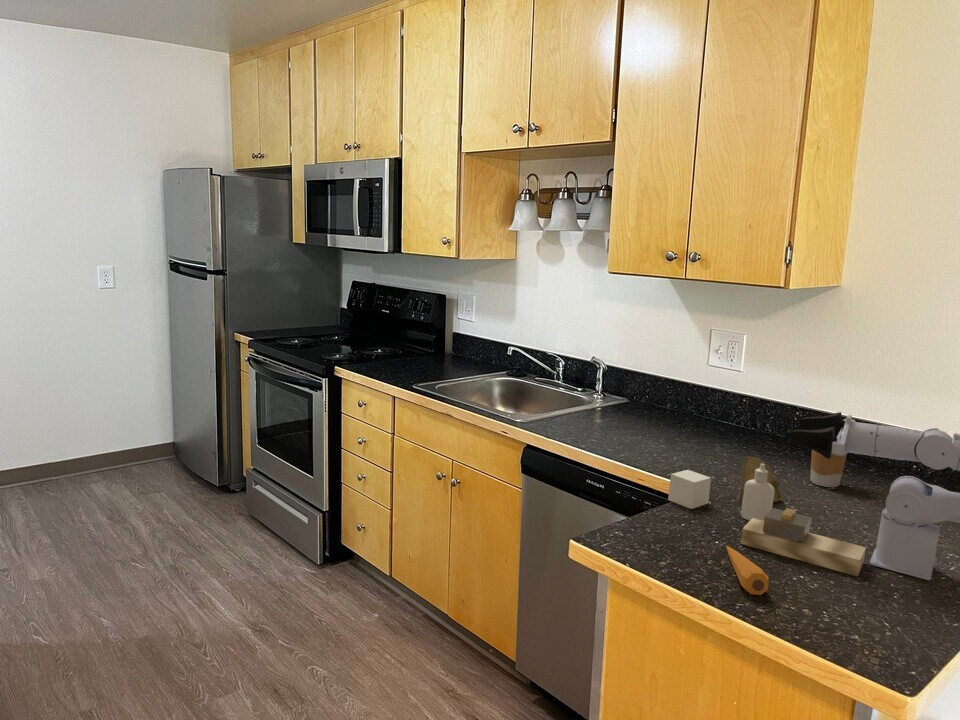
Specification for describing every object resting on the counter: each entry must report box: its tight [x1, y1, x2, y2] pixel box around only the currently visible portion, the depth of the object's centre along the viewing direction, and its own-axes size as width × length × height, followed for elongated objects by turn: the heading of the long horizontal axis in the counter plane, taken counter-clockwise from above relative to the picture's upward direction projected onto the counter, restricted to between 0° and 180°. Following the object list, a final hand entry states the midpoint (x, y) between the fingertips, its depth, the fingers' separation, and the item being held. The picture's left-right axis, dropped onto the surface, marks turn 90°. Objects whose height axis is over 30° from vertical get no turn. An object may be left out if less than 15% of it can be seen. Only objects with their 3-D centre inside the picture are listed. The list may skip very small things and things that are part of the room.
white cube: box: [667, 469, 712, 510], centre depth 159 cm, size 6×6×6 cm
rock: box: [738, 456, 783, 506], centre depth 162 cm, size 11×9×10 cm
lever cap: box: [763, 507, 812, 542], centre depth 137 cm, size 7×6×4 cm
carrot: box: [725, 545, 770, 596], centre depth 128 cm, size 20×4×4 cm, turn 176°
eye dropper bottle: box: [740, 464, 774, 522], centre depth 150 cm, size 4×6×12 cm
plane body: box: [740, 518, 867, 577], centre depth 136 cm, size 20×7×3 cm, turn 56°
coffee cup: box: [809, 449, 848, 488], centre depth 176 cm, size 8×8×15 cm
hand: (796, 429), depth 141 cm, fingers open, 7 cm apart
